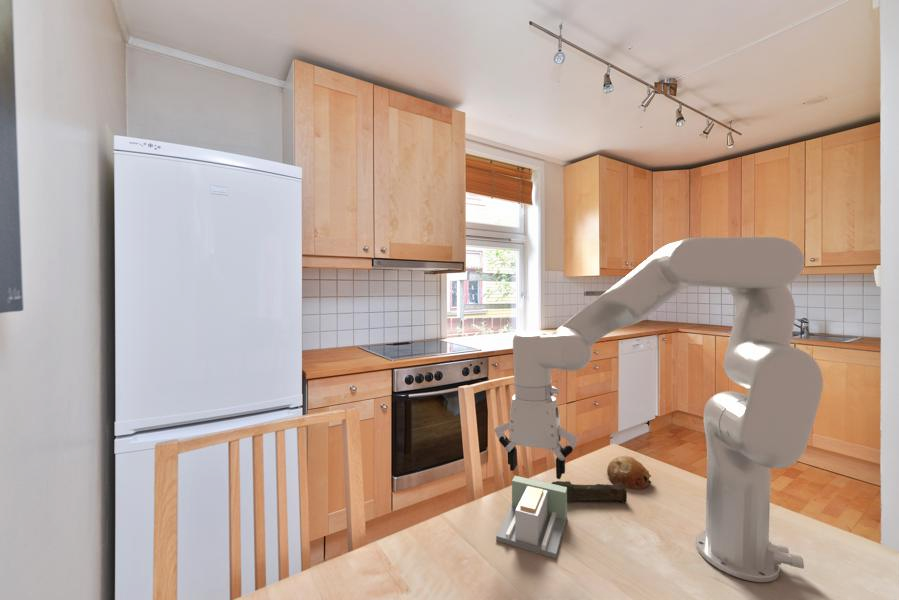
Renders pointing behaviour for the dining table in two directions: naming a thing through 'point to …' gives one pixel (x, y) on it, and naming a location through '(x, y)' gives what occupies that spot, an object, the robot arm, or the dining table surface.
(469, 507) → the dining table surface
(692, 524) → the dining table surface
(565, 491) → the chute mount
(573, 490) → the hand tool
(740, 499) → the robot arm
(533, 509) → the holder
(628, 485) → the bread roll
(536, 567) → the dining table surface
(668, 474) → the dining table surface
